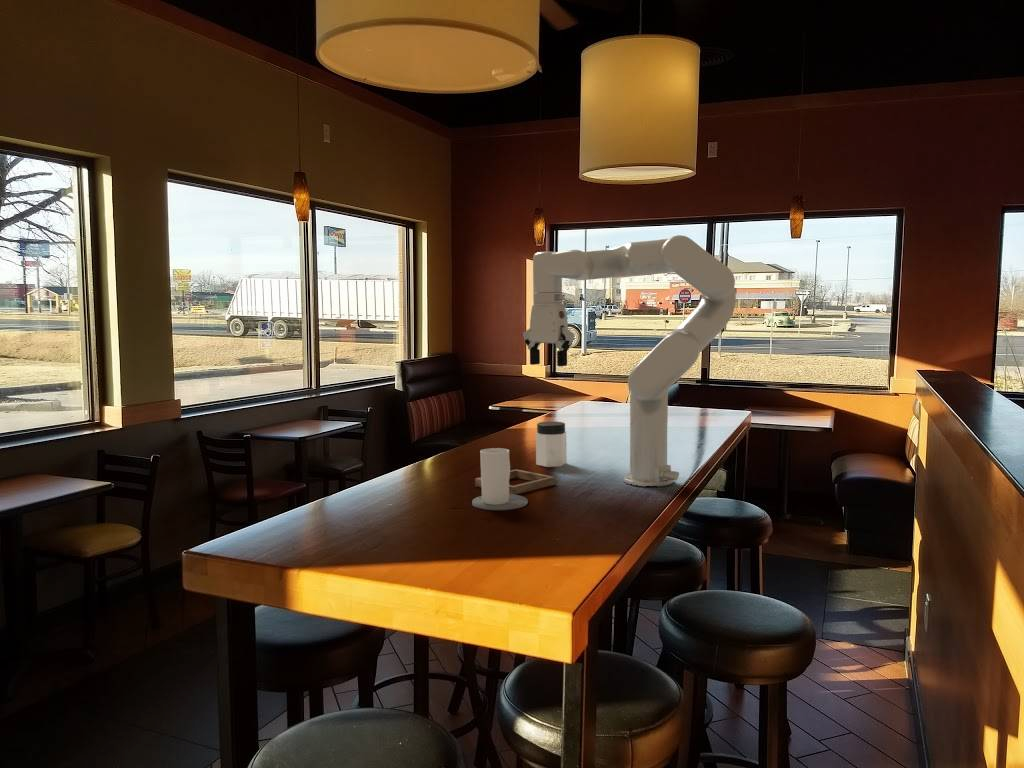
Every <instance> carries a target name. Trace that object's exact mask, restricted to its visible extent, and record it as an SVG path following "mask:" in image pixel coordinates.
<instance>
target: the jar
mask: <svg viewBox="0 0 1024 768" xmlns="http://www.w3.org/2000/svg"><path fill="white" fill-rule="evenodd" d="M535 455H536V456H535V464H536V465H537V466H540V467H545V468H555V467H557V468H558V467H563V466H564V465H566V464H567V463H568V462H567V459H568V458H567V431H566V423H565V422H564V421H563V422H562V421H553V420H552V421H551V420H549V421H541V422H537V424H536V433H535Z"/></svg>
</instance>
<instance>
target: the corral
mask: <svg viewBox="0 0 1024 768" xmlns="http://www.w3.org/2000/svg"><path fill="white" fill-rule="evenodd" d="M555 477H556V476H553V475H547V474H541V473H538V472H537V473H536V472H531V471H527V470H522V469H521V470H520V469H516V468H515V469H512V470H511V469H510V477H509V480H513V479H521V480H526V481H527V482H523V483H519V484H515V485H511V484H509V494H513V495H520V494H525V493H527V492H532V491H535V490H540V489H543V488H547V487H551V486H554V485H556V478H555ZM474 486H475V487H476V488H477V487H478V488H481V489H482V486H481V476H480V477H476V478H474Z"/></svg>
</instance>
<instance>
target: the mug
mask: <svg viewBox="0 0 1024 768" xmlns="http://www.w3.org/2000/svg"><path fill="white" fill-rule="evenodd" d="M479 453H480V477H481V486H482V488H481V496H482V502H483V503H485V504H490V505H500V504H505V503H507V502H509V485H510V479H509V477H510V471H511V462H510V461H511V460H510V449H507V448H501V447H497V448H496V447H495V448H494V447H492V448H484V449H480V451H479Z"/></svg>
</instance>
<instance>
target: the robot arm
mask: <svg viewBox="0 0 1024 768" xmlns="http://www.w3.org/2000/svg"><path fill="white" fill-rule="evenodd" d="M532 273H533V274H532V280H533V281H532V287H533V289H532V292H533V293H532V294H533V295H532V299H533V301H532V302H533V305H531V311H530V312H531V313H530V320H529V328H528V329H527V330H525V331H524V332H523V333H522V336H523V339H524V342H525V344H526V346H527V349H528V350H529V365H530V366H531V365H532V366H533V365H540V364H541V363H540V362H541V353H540V351H541V350H540V348H539V347H540V345H542V344H555V345H556V347H557V349H558V350H557V351H556V357H557V358H556V360H557V361H556V364H557V365H556V366H557V367H567V365H568V351H569V350H570V348H571V346H572V345H573V342H574V339H575V336H576V335H575V333H573V332H572V331H571V330H569V324H568V315H567V310H566V306H565V304H563V300H565V296H564V294H563V279H570V280H574V281H575V280H576V281H588V280H589V281H590V280H600V279H609V278H619V277H620V278H630V277H640V276H641V277H642V276H648V275H649V276H650V275H661V274H662V275H663V274H670V273H671V274H673V273H675V274H676V275H677V276H678V277H680V278H681V279H683V281H685V282H686V283H688V284H689V285H690V286H692V287H693V288H694V289H695V290H696V291H698V292H699V293H701V299H700V301H699V303H698V305H697V307H695V308H694V310H692V311H691V312H690V313H689V315H688V316H687V317H686V318H685V319H684V320H683V321H682V322H680V324H679V325H677V327H675V328H674V329H673V330H672V331H671V332H668V333H667V334H666V335H665V336H664V337H663V338H662V340H660V342H659V343H657V344H656V346H654V347H653V349H652V350H651V351H649V353H647V354H646V355H645V356H644V357H643V358H642V360H640V361H639V362H638V363H637V364H636V365H635V366H633V368H631V371H630V373H629V374H628V378H627V386H628V390H629V391H630V393H629V395H630V396H629V397H630V398H629V401H630V402H629V404H630V405H629V406H630V408H629V410H630V411H629V473H628V474H625V475H624V476H623V481H624V482H625V483H626V484H628V485H631V484H632V486H636V485H637V486H638V487H646V486H651V487H652V486H657V487H664V486H668V485H669V486H670V485H671V484H673V483H674V481H678V479H679V476H680V472H679V471H674V470H672V466H671V465H670V464H668V419H669V418H668V416H669V415H668V412H669V409H668V408H669V406H668V404H669V403H668V402H669V401H668V400H669V389H670V388H671V387H672V386H673V385H674V384H676V382H677V381H679V379H680V378H681V377H683V376H684V375H685V374H686V373H687V372H688V371H689V370H690V369H691V367H692V366H694V364H695V363H696V362H697V360H698V358H699V355H700V354H701V352H702V351H703V350H704V349H705V348H707V346H708V345H709V344H711V342H712V341H713V340H714V339H715V338H716V337H717V336H718V335H719V334H720V332H721V331H723V329H724V328H725V327H726V326H727V325H728V323H729V322H730V320H731V318H732V316H733V314H734V312H735V307H736V302H737V299H736V298H737V297H736V289H735V288H736V287H735V284H736V279H735V274H734V273H733V271H732V270H731V269H730V268H729V267H728V266H727V265H726V264H724V263H722V261H720V260H719V259H717V258H716V257H715V256H714V255H712V254H711V253H709V252H708V251H706V250H705V249H704V248H703V247H702V246H700V245H699V244H698V243H696V242H695V241H694V240H693V239H691V238H690V237H688V236H686V235H683V234H682V235H681V234H680V235H679V234H677V235H673V236H671V237H670V238H664V239H654V240H645V241H633V242H628V243H624V244H622V245H620V246H617V247H613V248H608V249H600V250H591V251H589V250H588V251H583V250H580V249H569V250H565V251H558V252H557V251H539V252H538V251H537V252H536V253H534V254H533V257H532ZM651 487H650V488H651Z"/></svg>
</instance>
